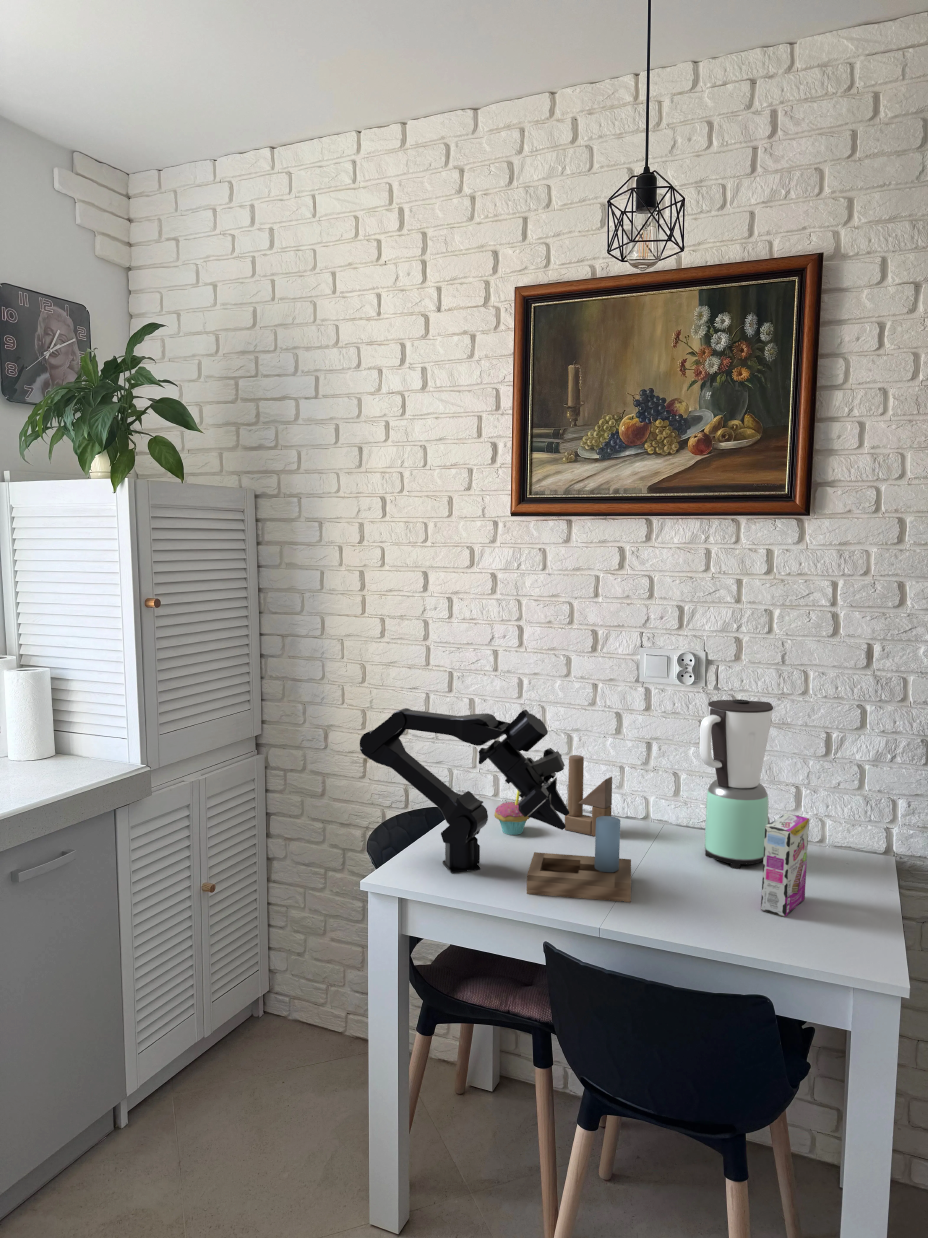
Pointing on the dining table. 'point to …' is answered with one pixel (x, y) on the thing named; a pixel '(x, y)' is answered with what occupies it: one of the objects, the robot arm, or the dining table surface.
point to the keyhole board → (575, 889)
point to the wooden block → (585, 799)
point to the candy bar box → (784, 864)
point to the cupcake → (511, 817)
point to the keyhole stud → (607, 844)
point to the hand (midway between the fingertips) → (566, 821)
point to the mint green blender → (736, 780)
